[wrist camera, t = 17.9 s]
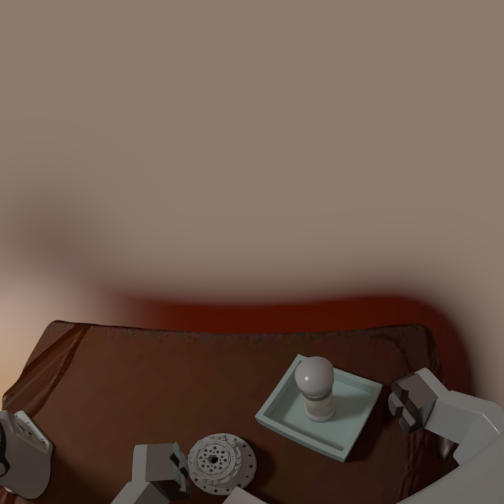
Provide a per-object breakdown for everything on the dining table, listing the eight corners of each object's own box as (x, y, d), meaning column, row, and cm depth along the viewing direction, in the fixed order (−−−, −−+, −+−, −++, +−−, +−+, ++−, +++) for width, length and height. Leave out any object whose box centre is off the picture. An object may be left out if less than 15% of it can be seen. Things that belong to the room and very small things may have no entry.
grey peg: (303, 421, 38) (291, 389, 31) (307, 395, 41) (298, 355, 34) (333, 423, 36) (331, 391, 29) (337, 396, 40) (335, 356, 32)
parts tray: (259, 423, 40) (254, 416, 38) (300, 363, 46) (298, 354, 45) (343, 462, 32) (344, 458, 30) (380, 393, 38) (382, 384, 37)
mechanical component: (186, 490, 32) (253, 499, 30) (172, 485, 30) (245, 496, 28) (197, 433, 40) (260, 437, 38) (186, 424, 38) (253, 428, 35)
